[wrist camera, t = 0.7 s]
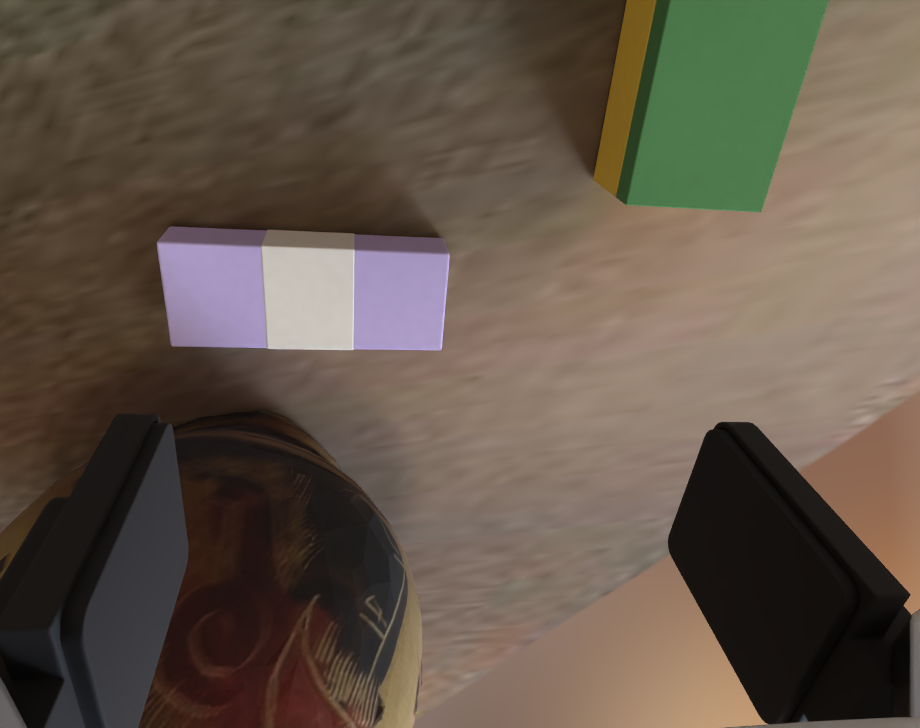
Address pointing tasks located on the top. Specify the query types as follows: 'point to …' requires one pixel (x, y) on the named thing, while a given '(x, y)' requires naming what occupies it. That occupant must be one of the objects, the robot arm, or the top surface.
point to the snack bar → (303, 289)
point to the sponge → (703, 100)
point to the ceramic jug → (276, 588)
